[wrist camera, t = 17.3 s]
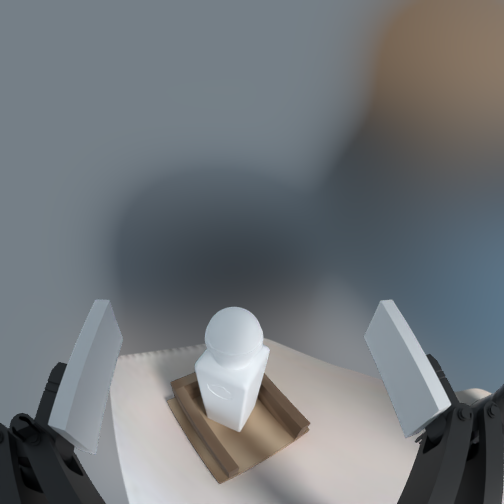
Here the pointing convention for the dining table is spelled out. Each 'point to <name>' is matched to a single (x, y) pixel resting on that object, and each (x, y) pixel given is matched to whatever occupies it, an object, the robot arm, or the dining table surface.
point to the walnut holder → (230, 441)
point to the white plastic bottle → (231, 366)
